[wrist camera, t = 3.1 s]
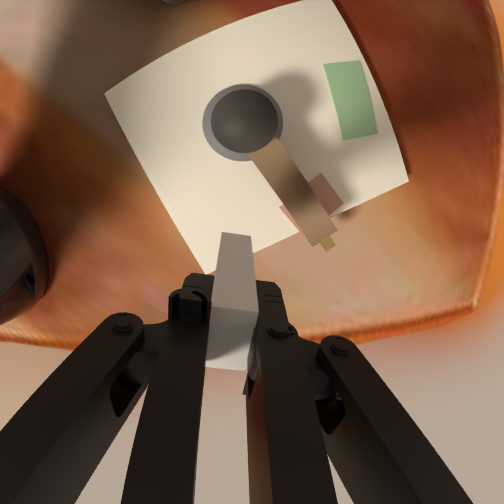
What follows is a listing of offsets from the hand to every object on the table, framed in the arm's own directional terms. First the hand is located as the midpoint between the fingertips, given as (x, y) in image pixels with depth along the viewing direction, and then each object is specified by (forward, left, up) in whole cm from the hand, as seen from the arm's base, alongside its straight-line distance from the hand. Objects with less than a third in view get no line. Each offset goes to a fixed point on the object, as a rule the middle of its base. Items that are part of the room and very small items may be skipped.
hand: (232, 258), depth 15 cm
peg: (+5, +1, -8) cm, 10 cm away
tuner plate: (+5, +5, -10) cm, 12 cm away
